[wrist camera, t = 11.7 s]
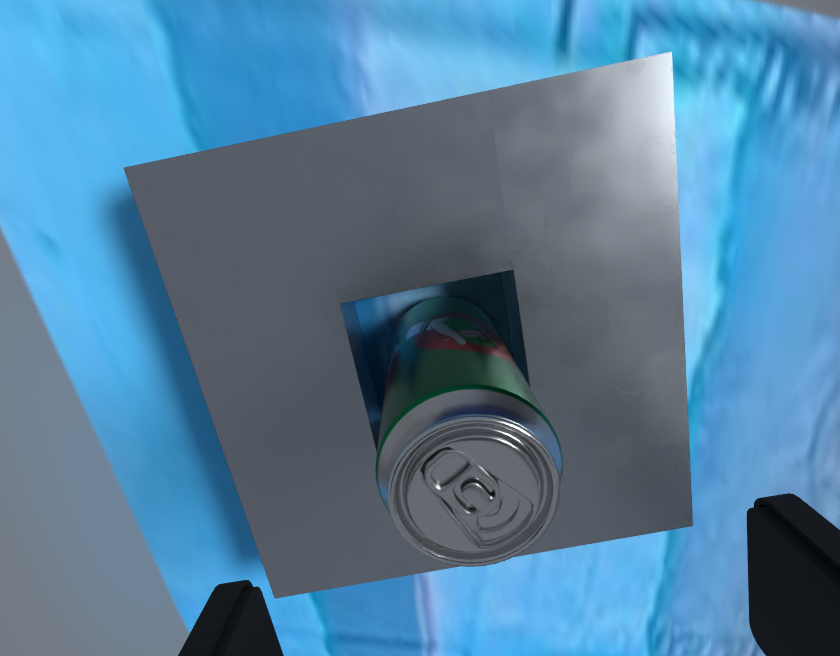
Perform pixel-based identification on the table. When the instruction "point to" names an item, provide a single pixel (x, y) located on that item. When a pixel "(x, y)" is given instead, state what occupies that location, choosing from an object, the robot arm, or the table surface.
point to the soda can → (463, 440)
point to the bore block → (425, 266)
